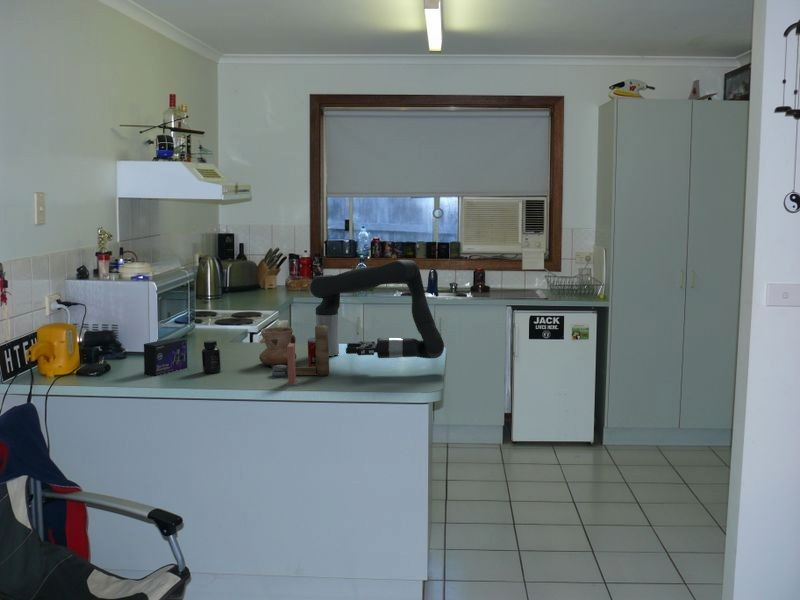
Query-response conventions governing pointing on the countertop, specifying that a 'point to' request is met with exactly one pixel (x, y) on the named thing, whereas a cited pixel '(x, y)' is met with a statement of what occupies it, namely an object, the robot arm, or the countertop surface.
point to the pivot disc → (279, 373)
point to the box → (165, 356)
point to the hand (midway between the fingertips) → (346, 348)
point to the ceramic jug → (276, 345)
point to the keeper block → (291, 365)
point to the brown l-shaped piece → (321, 356)
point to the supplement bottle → (211, 358)
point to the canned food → (311, 352)
